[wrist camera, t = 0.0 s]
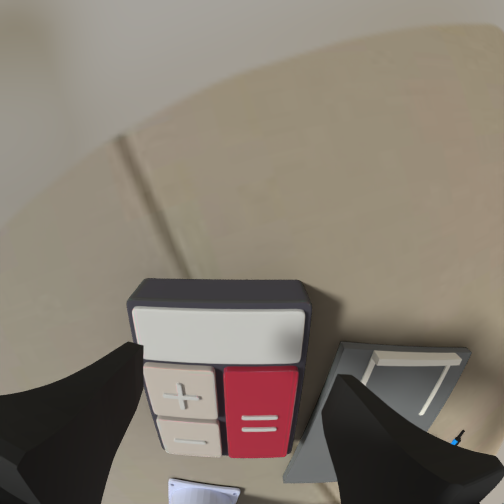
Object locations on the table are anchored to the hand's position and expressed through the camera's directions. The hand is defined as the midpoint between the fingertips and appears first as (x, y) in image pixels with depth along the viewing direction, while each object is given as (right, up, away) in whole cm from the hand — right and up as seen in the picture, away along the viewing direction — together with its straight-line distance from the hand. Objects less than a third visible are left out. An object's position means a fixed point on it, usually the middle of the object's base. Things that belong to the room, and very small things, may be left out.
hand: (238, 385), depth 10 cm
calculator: (-2, -4, +12) cm, 13 cm away
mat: (+12, -12, +14) cm, 22 cm away
